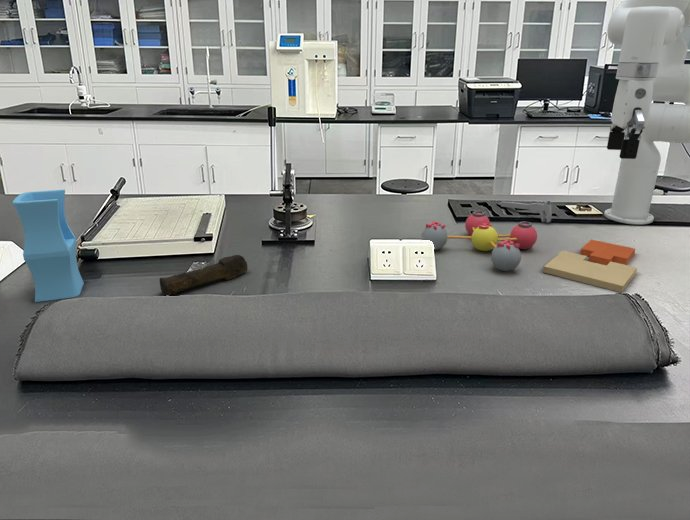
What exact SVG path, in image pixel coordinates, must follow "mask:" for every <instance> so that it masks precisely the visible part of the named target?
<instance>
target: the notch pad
mask: <svg viewBox="0 0 690 520" xmlns="http://www.w3.org/2000/svg"><path fill="white" fill-rule="evenodd" d="M587 259H588V256H585V255H581V254H580V253H575V252H571V251H566V250H562V251H560V252H559V253H558V254H556V256H554V257H553V258H552V259H551V260H550V261H549V262H547V263H546V264H545V265H544V266H543V273H544V274H548V275H552V276H556V277H560V278H564V279H567V280H572V281H574V282H575V281H576V282H580V283H583V284H587V285H591V286H595V287H598V288H603V289H606V290H610V291H614V292H618V293H623V292H624V291H625V289H626V288H627V286H628V285H629V284H630V283H631V281H632V280H633V278H634V277H635V276H636V274H637V271H638V267H637V266H632V265H629V264H628V265H627V264H626V265H625V264H621V263H616V262H611V261H610V263H609V264H608V265H604V264H600V263H595V262H591V261H589V260H587Z"/></svg>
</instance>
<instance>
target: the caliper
mask: <svg viewBox="0 0 690 520" xmlns="http://www.w3.org/2000/svg"><path fill="white" fill-rule="evenodd" d="M497 205H499V206H500V207H501V208H511V209H519V210H520V209H521V210H529V211H530V214H531V213H533V214H538V213H539V216H540V220H541V222H542V223H551V222H552V215H553V206H552V204H551V200H543V203H539V202H531V203H523V202H512V201H500V202H498V203H497Z"/></svg>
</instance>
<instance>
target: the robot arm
mask: <svg viewBox="0 0 690 520" xmlns="http://www.w3.org/2000/svg"><path fill="white" fill-rule="evenodd" d="M685 27H690V0H622V1H621V2H620V3H619V4H618V6H617V7H616V8H615V9H614V11H613V12H612V14H611V15H610V18H609V21H608V23H607V28H606V29H607V30H606V31H607V32H606V33H607V35H606V36H607V38H608V40H609V42H610V43H611V44H612V45H616V46H621V48H620V53H619V58H618V63H617V68H616V75H615V79H616V80H618V84H617V87H616V92H615V96H614V101H613V105H612V111H611V119H610V120H611V125H610V128H609V134H608V139H607V143H606V144H607V145H606V149H607V150H611V151H614V150H615V151H619V158H620V163H619V168H618V173H617V178H616V183H615V188H614V193H613V197H612V198H613V199H612V203H611V207H610V208H607V209H605V210H604V213H603V215H604V217H605V218H606V219H608V220H610V221H613V222H616V223H621V224H626V225H627V224H628V225H640V226H641V225H649V224H652V223H653V222H654V219H655V216H654V215H653V214H651V213H650V209H651V205H652V201H653V195H654V191H655V187H656V182H657V179H658V174H659V169H660V165H661V162H662V161H661V159H662V157H661V153H660V151H659V149H658V147H657V146H656V144H655V143H654V142H662V143H673V144H690V63H685V61H686V58H687V54H688V51H689V47H688V44H687V42H686V40H685V39H684V37H683V36H682V33H683V31H684V28H685ZM658 102H659V103H658ZM660 102H663V103H660ZM672 103H681V104H672Z"/></svg>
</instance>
